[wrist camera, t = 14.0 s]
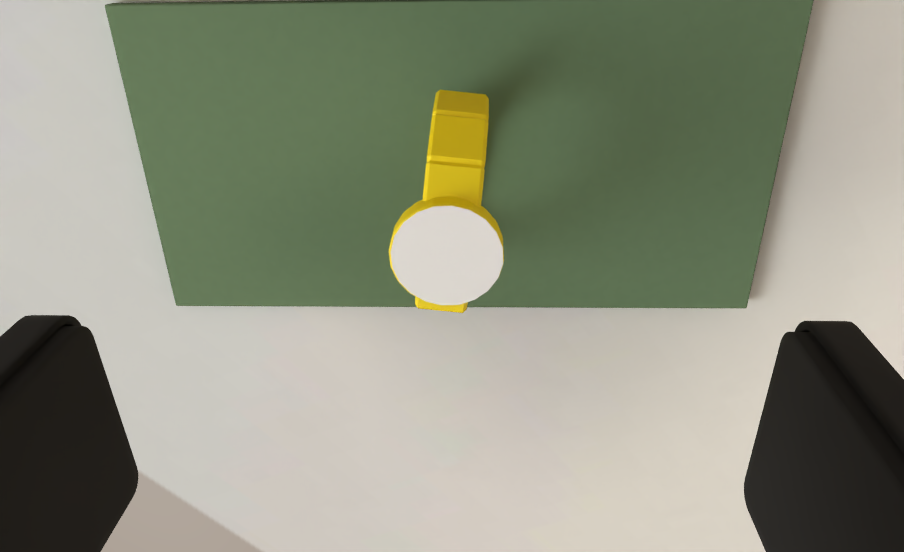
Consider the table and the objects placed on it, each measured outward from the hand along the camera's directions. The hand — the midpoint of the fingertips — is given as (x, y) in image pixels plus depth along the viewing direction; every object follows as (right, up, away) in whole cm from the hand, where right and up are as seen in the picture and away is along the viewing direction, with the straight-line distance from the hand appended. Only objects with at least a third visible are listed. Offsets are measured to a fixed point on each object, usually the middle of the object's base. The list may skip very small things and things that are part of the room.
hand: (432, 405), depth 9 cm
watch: (0, +5, +12) cm, 13 cm away
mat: (0, +5, +12) cm, 13 cm away
